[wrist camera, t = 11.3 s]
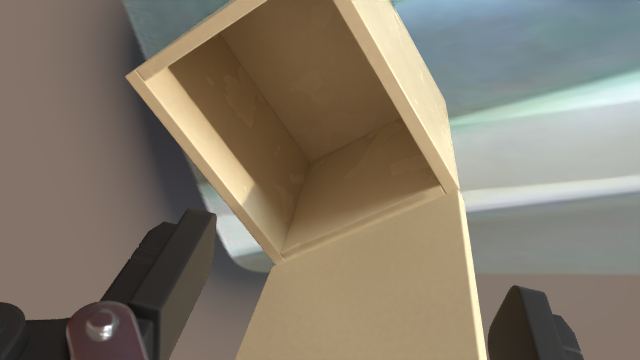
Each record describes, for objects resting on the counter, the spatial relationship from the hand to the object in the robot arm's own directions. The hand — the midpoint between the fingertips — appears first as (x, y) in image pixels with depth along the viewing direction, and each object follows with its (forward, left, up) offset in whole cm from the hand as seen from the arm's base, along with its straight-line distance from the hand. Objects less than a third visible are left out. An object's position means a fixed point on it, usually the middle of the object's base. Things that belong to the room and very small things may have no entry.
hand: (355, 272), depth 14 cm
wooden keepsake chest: (0, -5, -27) cm, 28 cm away
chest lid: (+7, -5, -6) cm, 11 cm away
